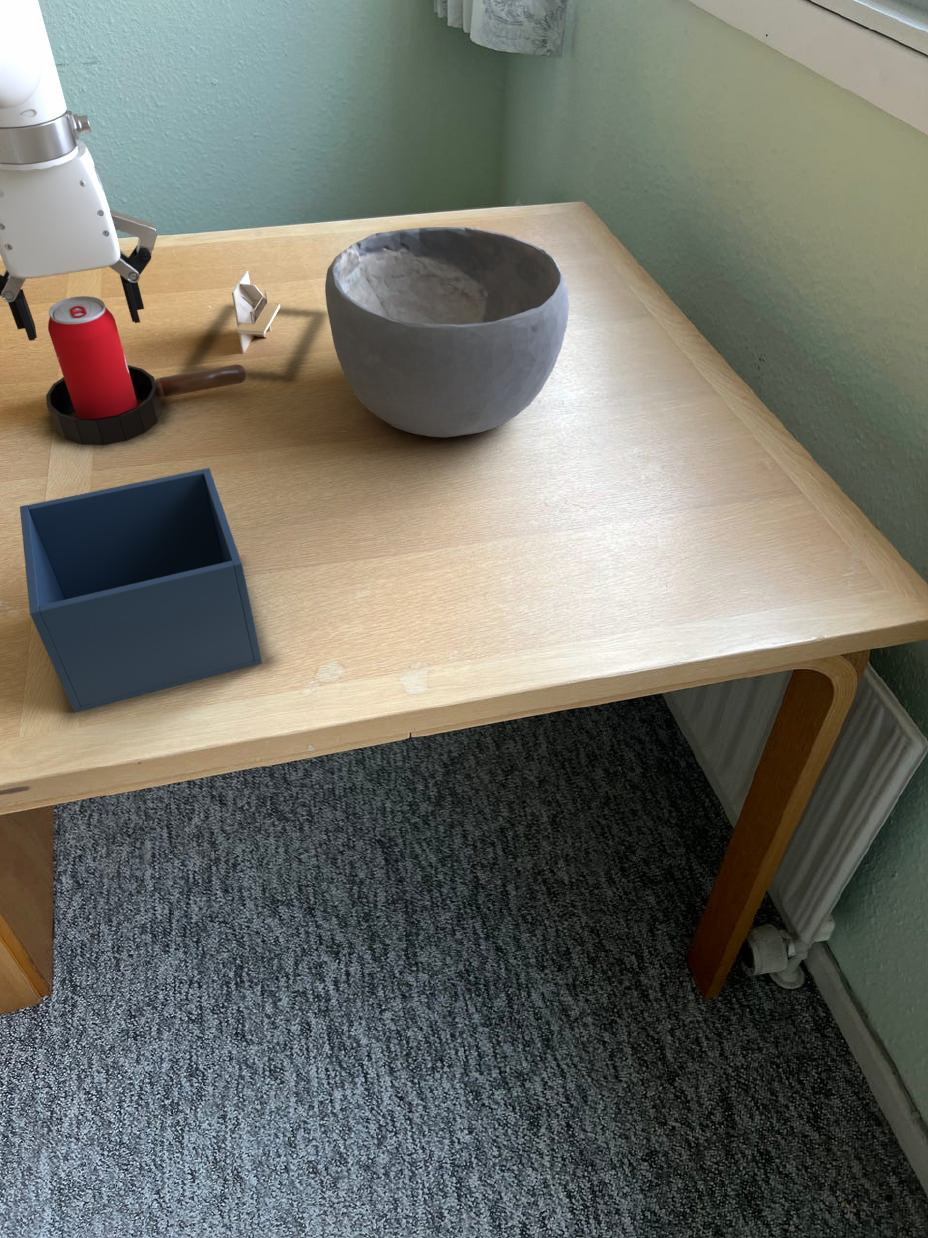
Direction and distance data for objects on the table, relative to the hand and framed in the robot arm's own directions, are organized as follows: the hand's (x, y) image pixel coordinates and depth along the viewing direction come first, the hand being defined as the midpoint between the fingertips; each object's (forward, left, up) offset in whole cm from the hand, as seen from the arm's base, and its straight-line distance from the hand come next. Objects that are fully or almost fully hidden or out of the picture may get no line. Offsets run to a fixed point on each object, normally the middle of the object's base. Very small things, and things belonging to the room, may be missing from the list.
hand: (84, 324), depth 90 cm
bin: (0, -34, -10) cm, 36 cm away
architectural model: (+18, +10, -10) cm, 23 cm away
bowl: (+34, -10, -10) cm, 37 cm away
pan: (+5, 0, -10) cm, 11 cm away
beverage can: (0, 0, -10) cm, 10 cm away
